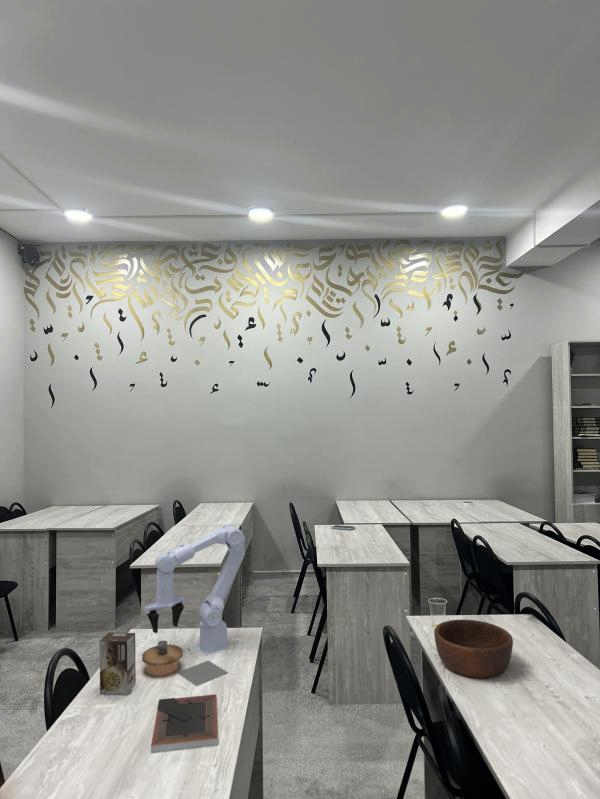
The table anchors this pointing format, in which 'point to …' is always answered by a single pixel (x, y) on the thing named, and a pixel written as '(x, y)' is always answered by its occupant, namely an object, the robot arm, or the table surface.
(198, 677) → the mat
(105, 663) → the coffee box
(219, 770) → the table surface
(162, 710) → the picture frame
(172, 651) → the lid
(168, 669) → the bowl
